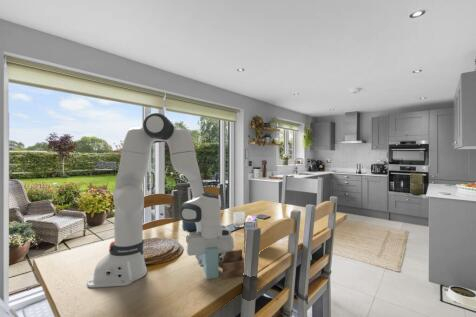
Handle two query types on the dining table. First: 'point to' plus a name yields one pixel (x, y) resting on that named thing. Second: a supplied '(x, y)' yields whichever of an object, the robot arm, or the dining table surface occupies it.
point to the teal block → (211, 262)
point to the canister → (189, 226)
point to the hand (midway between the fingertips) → (210, 262)
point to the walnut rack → (232, 264)
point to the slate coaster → (201, 259)
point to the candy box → (249, 225)
